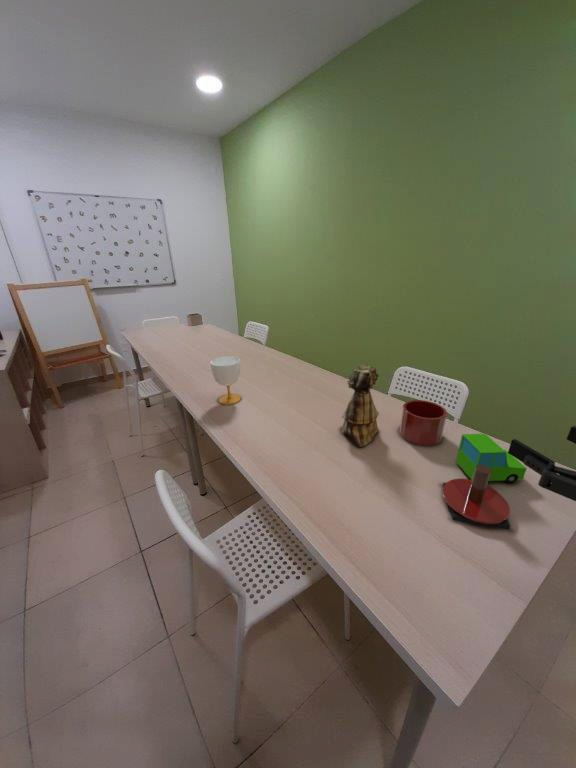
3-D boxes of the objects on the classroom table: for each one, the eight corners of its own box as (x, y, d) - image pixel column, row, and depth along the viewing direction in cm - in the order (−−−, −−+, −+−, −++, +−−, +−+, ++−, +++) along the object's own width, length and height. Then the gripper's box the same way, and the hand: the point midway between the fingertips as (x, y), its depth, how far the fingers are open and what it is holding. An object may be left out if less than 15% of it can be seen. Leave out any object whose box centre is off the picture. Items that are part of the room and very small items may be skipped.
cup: (231, 391, 133) (227, 354, 126) (249, 398, 126) (246, 360, 119) (209, 400, 125) (204, 362, 118) (227, 408, 118) (222, 368, 111)
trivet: (491, 492, 74) (492, 489, 74) (509, 529, 64) (510, 525, 64) (442, 485, 77) (443, 482, 76) (452, 519, 67) (453, 516, 66)
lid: (495, 487, 74) (506, 454, 70) (519, 531, 62) (532, 496, 59) (437, 478, 78) (444, 447, 74) (448, 519, 66) (457, 484, 62)
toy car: (526, 486, 76) (538, 453, 72) (474, 488, 76) (483, 455, 72) (499, 460, 85) (509, 430, 81) (453, 462, 85) (460, 432, 81)
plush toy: (323, 432, 99) (343, 365, 86) (342, 416, 109) (362, 354, 97) (362, 454, 92) (389, 385, 80) (378, 435, 103) (404, 371, 90)
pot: (437, 427, 102) (442, 402, 98) (445, 448, 91) (451, 421, 87) (398, 422, 105) (401, 398, 101) (401, 443, 94) (405, 416, 90)
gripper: (638, 590, 33) (479, 469, 52) (772, 535, 39) (585, 444, 58) (671, 543, 30) (490, 433, 49) (811, 490, 36) (600, 410, 55)
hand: (541, 438), depth 53 cm, fingers open, 13 cm apart
